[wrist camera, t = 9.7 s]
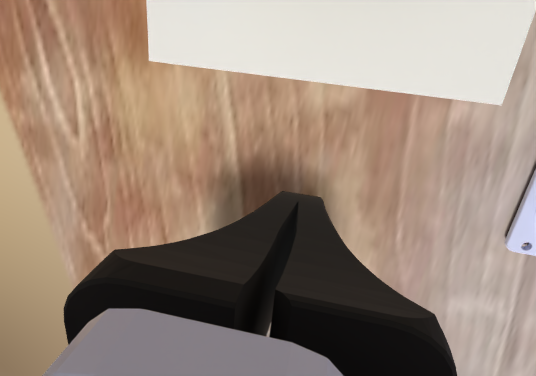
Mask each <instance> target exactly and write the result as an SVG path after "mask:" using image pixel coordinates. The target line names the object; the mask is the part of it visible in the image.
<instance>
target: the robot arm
mask: <svg viewBox="0 0 536 376" xmlns="http://www.w3.org/2000/svg"><path fill="white" fill-rule="evenodd" d="M527 242H529V244H528V245H527V246H525V247H522V244H524V243H527ZM505 245H506V247H507V248H508V249H509V250H510V251H513V252H518V253H523V254H529V255H535V256H536V169H535V171H534V174H533V176H532V178H531V181H530V183H529V185H528V188H527V190H526V192H525V195H524V197H523V199H522V202H521V204H520V206H519V209H518V211H517V214H516V216H515V218H514V221H513V223H512V225H511V228H510V230H509V232H508V235H507V237H506V239H505ZM64 323H65V328H66V334H67V339H68V344H69V345H68V346H67V348H66V349H65V350H64V351H63V352H62V353H61V355H60V356H59V357H58V358H57V359H56V361H55V362H54V363H53V364H52V365H51V366H50V367H49V368H48V370H47V371H46V372H45V373H44V374H43V375H42V376H457V372H456V366H455V363H454V360H453V357H452V353H451V350H450V348H449V345H448V343H447V340H446V338H445V335H444V333H443V331H442V329H441V327H440V325H439V323H438V321H437V318H436V316H435V314H433V313H432V312H430V311H428V310H426V309H425V308H423V307H421V306H419V305H418V304H416V303H414V302H412V301H411V300H409V299H407V298H405V297H404V296H402V295H401V294H399V293H398V292H396V291H395V290H393V289H392V288H391V287H389V286H388V285H386V284H385V283H384V282H382V281H381V280H380V279H379V278H377V277H376V276H375V275H374V274H373V273H372V272H370V271H369V270H368V269H367V268H366V267H365V266H364V265H363V264H362V263H361V262H360V261H359V260H358V259H357V258H356V257H355V256H354V255H353V254H352V252H351V251H350V250H349V249H348V248H347V246H346V245H345V244H344V242H343V241H342V239H341V238H340V236H339V235H338V233H337V231H336V230H335V228H334V226H333V224H332V222H331V220H330V218H329V216H328V214H327V212H326V209H325V206H324V202H323V200H322V199H321V197H315V196H309V195H303V194H297V193H291V192H285V191H282V192H281V193H279V194H278V195H276V196H275V197H273V198H272V199H271V200H269V201H268V202H267V203H265V204H264V205H263V206H261V207H260V208H258V209H257V210H255V211H254V212H252V213H250V214H249V215H247V216H245V217H243V218H242V219H240V220H238V221H236V222H234V223H232V224H230V225H228V226H226V227H223V228H221V229H218V230H216V231H213V232H210V233H207V234H204V235H201V236H197V237H194V238H191V239H187V240H183V241H179V242H174V243H169V244H163V245H157V246H150V247H140V248H130V249H118V250H114V251H113V252H111V253H110V254H109V255H108V256H107V257H106V258H105V259H104V260H103V261H102V262H101V263H100V264H99V265H98V266H97V267H96V268H95V269H93V270H92V271H91V272H90V273H89V274H88V275H87V276H86V277H85V278H84V279H83V280H82V281H81V282H80V283H79V284H78V285H77V286H76V287H75V289H74V290H73V291H72V292H71V293H70V294H69V295H68V297H67V300H66V303H65V306H64ZM270 324H271V327H270ZM269 327H270V335H269V337H266V336H267V333H268V330H269Z"/></svg>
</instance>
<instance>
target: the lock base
mask: <svg viewBox="0 0 536 376" xmlns="http://www.w3.org/2000/svg"><path fill="white" fill-rule="evenodd" d="M535 11H536V0H147V22H148V45H149V61H154V62H161V63H169V64H177V65H185V66H193V67H201V68H209V69H217V70H225V71H233V72H241V73H249V74H257V75H265V76H273V77H281V78H289V79H297V80H305V81H313V82H321V83H329V84H337V85H345V86H352V87H360V88H368V89H376V90H384V91H392V92H400V93H408V94H416V95H424V96H432V97H440V98H448V99H456V100H464V101H472V102H480V103H488V104H496V105H502V103H503V100H504V98H505V95H506V92H507V89H508V86H509V84H510V81H511V78H512V75H513V72H514V70H515V67H516V64H517V61H518V58H519V56H520V53H521V50H522V47H523V44H524V42H525V39H526V36H527V33H528V30H529V28H530V25H531V22H532V19H533V16H534V14H535Z"/></svg>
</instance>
